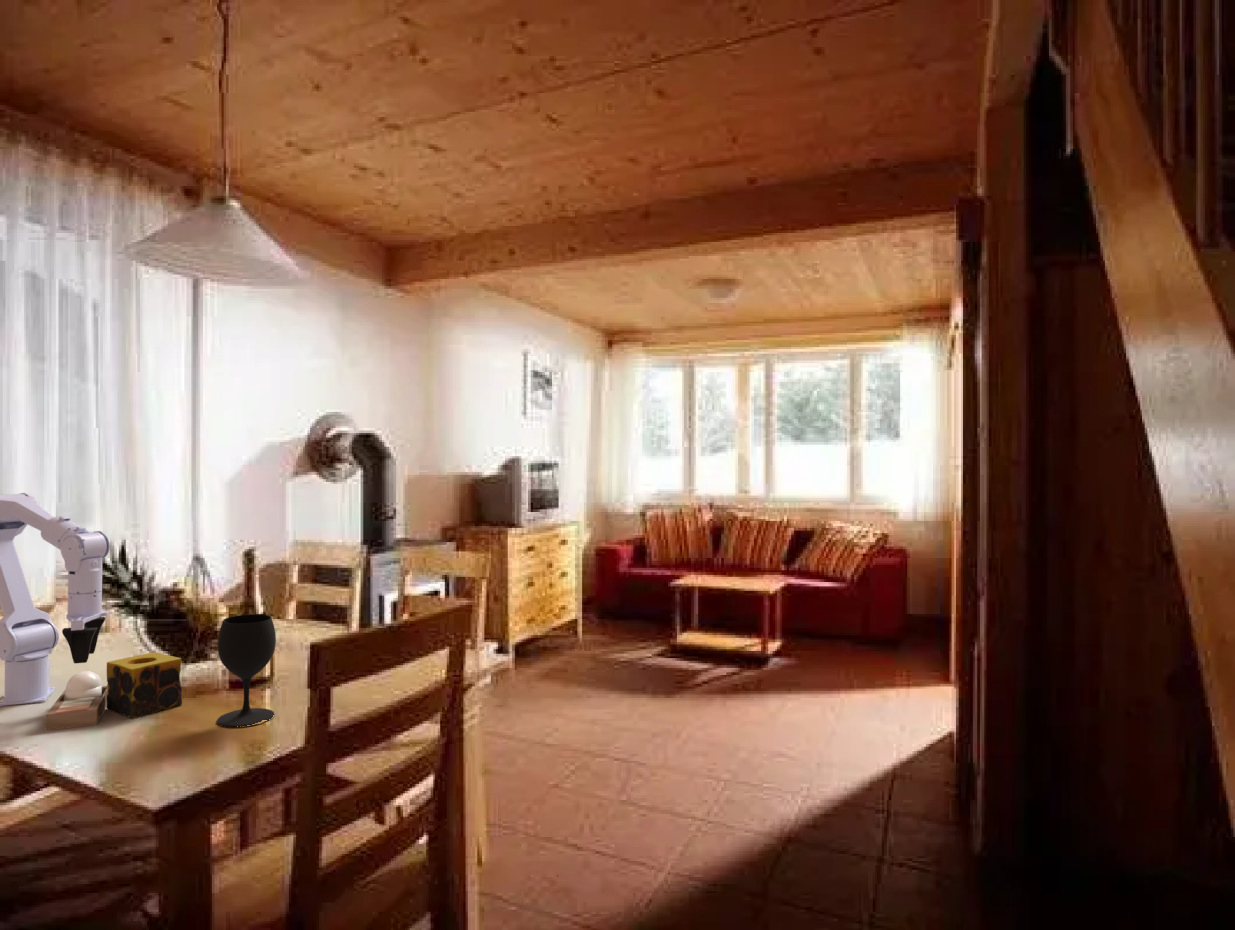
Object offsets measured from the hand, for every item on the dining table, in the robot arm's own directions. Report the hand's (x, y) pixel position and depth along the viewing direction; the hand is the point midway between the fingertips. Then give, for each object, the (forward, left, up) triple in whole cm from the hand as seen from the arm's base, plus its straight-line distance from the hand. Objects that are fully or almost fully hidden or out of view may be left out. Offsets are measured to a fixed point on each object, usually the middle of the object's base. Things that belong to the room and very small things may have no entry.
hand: (84, 658), depth 154 cm
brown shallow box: (+4, 0, -10) cm, 11 cm away
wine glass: (+19, +30, -11) cm, 37 cm away
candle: (+4, +11, -11) cm, 16 cm away
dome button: (0, 0, -9) cm, 9 cm away
